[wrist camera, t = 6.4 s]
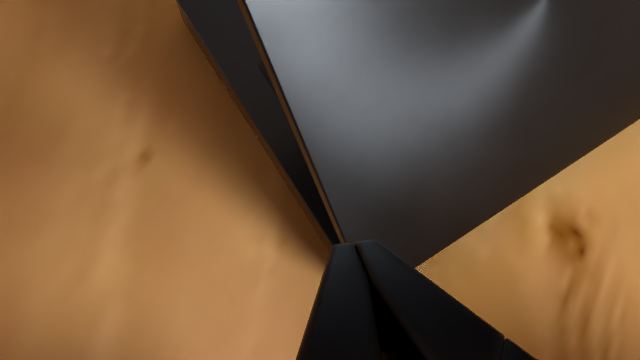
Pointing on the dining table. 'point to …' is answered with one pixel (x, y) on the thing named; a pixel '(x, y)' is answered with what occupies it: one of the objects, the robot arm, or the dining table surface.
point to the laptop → (255, 98)
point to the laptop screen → (444, 103)
